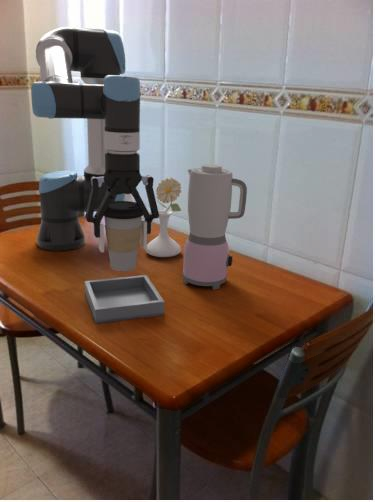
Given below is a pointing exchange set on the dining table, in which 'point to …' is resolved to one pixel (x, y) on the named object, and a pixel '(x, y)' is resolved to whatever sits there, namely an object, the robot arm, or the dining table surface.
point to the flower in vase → (165, 220)
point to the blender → (210, 224)
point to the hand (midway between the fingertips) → (122, 248)
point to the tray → (123, 299)
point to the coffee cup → (123, 233)
